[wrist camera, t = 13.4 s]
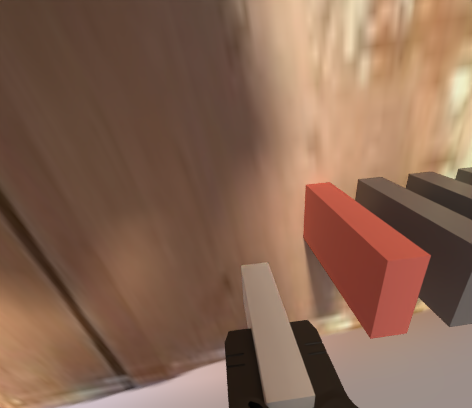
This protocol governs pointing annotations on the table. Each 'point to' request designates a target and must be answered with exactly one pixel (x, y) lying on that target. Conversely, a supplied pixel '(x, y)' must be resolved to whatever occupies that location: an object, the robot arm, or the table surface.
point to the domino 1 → (443, 191)
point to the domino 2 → (429, 244)
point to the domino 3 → (465, 175)
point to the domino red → (364, 259)
